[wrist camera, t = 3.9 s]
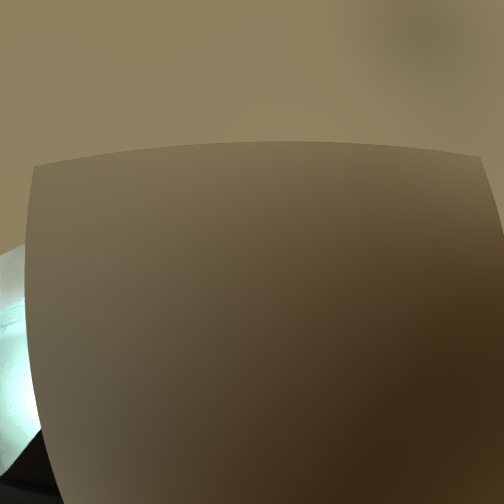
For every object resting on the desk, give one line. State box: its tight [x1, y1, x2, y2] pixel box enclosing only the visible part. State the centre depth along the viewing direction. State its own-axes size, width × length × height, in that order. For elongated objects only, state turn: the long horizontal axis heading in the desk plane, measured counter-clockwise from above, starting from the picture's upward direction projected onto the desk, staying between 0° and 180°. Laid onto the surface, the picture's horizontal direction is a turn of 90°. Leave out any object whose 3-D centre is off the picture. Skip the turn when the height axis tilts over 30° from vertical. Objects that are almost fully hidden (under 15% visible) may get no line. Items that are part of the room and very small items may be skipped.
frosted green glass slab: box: [0, 244, 41, 476], centre depth 10 cm, size 20×11×4 cm, turn 22°
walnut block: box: [24, 142, 504, 504], centre depth 9 cm, size 5×5×13 cm
